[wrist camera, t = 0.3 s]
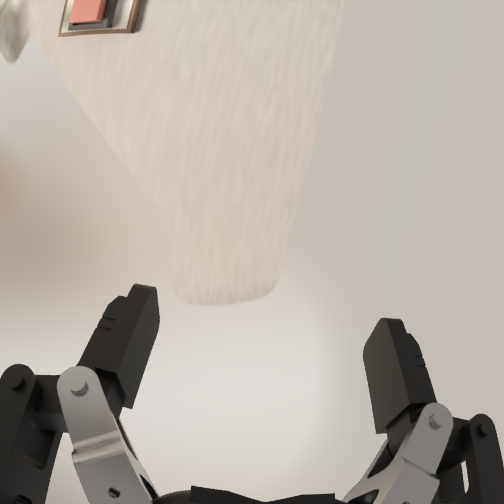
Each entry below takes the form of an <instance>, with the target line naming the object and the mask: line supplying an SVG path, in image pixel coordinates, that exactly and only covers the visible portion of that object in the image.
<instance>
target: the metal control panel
mask: <svg viewBox="0 0 504 504" xmlns="http://www.w3.org/2000/svg"><path fill="white" fill-rule="evenodd" d="M140 2H141V0H108V1H107V5H106V10H105V14H104V18H103V21H99V22H86V23H69V21H70V16H71V11H72V7H73V3H74V0H66V2H65V6H64V10H63V15H62V20H61V25H60V30H59V35H58V37H64V36H74V35H87V34H108V33H133V32H134V28H135V23H136V19H137V15H138V10H139V6H140Z"/></svg>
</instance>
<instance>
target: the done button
mask: <svg viewBox="0 0 504 504" xmlns="http://www.w3.org/2000/svg"><path fill="white" fill-rule="evenodd" d="M107 1H108V0H74V3H73V7H72V11H71V16H70V21H69V23H86V22H99V21H103V18H104V14H105V10H106V5H107Z"/></svg>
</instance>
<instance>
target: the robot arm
mask: <svg viewBox="0 0 504 504" xmlns="http://www.w3.org/2000/svg"><path fill="white" fill-rule="evenodd" d="M159 322H160V315H159V306H158V297H157V289H156V287H152V286H146V285H141V284H134V285H133V286H132V288H131V290H130V292H129V294H128V296H127V297H124V296H118V297H117V298H116V299H114V300H113V301H112V302H111V303H110V304H109V305H108V306H107V308H106V310H105V312H104V314H103V316H102V318H101V319H100V321H99V323H98V325H97V328H96V329H95V331H94V333H93V335H92V336H91V338H90V341H89V342H88V345H87V347H86V348H85V351H84V353H83V355H82V357H81V359H80V361H79V362H78V364H77V365H76V366H75V367H71V368H69V369H67V370H66V371H64V372H63V373H62V374H61V375H35V374H34V373H33V372H32V370H31V369H30V368H29V367H28V366H26V365H23V364H15V365H12V366H10V367H9V368H7V369H6V370H5V371H4V373H3V375H2V376H1V378H0V504H45V500H46V496H47V491H48V487H49V482H50V478H51V474H52V470H53V466H54V462H55V458H56V454H57V451H58V447H59V444H60V440H61V437H62V434H63V432H66V433H69V435H70V438H71V441H72V444H73V448H74V451H73V452H72V460H73V464H74V467H75V469H76V472H77V474H78V477H79V479H80V482H81V485H82V487H83V489H84V492H85V494H86V496H87V499H88V501H89V503H90V504H504V467H503V461H502V456H501V451H500V447H499V442H498V437H497V433H496V429H495V425H494V423H493V421H492V420H491V419H490V417H488V416H487V415H485V414H477V415H475V416H474V417H473V418H472V419H470V420H464V419H460V418H455V417H452V415H451V413H450V411H449V410H448V409H447V408H446V407H445V406H444V405H442V404H439V403H437V401H436V397H435V394H434V391H433V387H432V384H431V380H430V378H429V374H428V371H427V368H425V362H424V359H423V358H422V353H421V350H420V347H419V344H418V343H417V342H416V340H415V339H414V338H413V336H412V335H411V334H409V333H406V330H405V327H404V324H403V322H402V320H401V319H391V318H381V319H380V320H379V321H378V323H377V325H376V327H375V328H374V330H373V332H372V333H371V335H370V337H369V338H368V340H367V342H366V344H365V346H364V351H363V360H364V365H365V370H366V376H367V381H368V386H369V392H370V398H371V403H372V410H373V416H374V423H375V429H376V434H381V433H387V437H388V439H387V440H386V441H385V442H384V443H383V445H382V447H381V449H380V450H379V452H378V454H377V455H376V457H375V459H374V460H373V462H372V463H371V465H370V467H369V468H368V470H367V471H366V473H365V474H364V476H363V477H362V479H361V480H360V481H359V482H358V483H357V484H356V485H355V486H354V487H353V488H352V489H351V490H350V491H349V492H348V494H346V496H345V497H344V499H343V500H342V501H340V500H337V499H335V494H334V493H333V494H315V495H314V494H311V495H298V496H294V497H290V498H286V499H280V500H275V501H270V502H261V501H258V500H255V499H251V498H248V497H245V496H242V495H239V494H235V493H232V492H230V491H225V490H216V489H210V488H203V487H197V486H191V490H186V491H178V492H173V493H169V494H166V495H163V496H161V497H160V496H159V494H158V493H157V491H156V489H155V488H154V486H153V484H152V482H151V480H150V478H149V477H148V475H147V473H146V472H145V470H144V468H143V467H142V465H141V463H140V462H139V459H138V457H137V455H136V453H135V451H134V449H133V447H132V445H131V443H130V440H129V438H128V436H127V434H126V432H125V430H124V427H123V425H122V422H121V420H120V418H119V416H120V413H121V410H122V407H126V408H130V409H132V408H133V404H134V401H135V398H136V395H137V392H138V389H139V386H140V383H141V380H142V377H143V374H144V371H145V368H146V365H147V362H148V358H149V356H150V353H151V350H152V347H153V345H154V342H155V339H156V336H157V333H158V329H159ZM464 461H466V467H467V474H468V481H469V488H468V491H467V492H466V493H465V490H464V482H463V474H462V466H461V463H462V462H464Z"/></svg>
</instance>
